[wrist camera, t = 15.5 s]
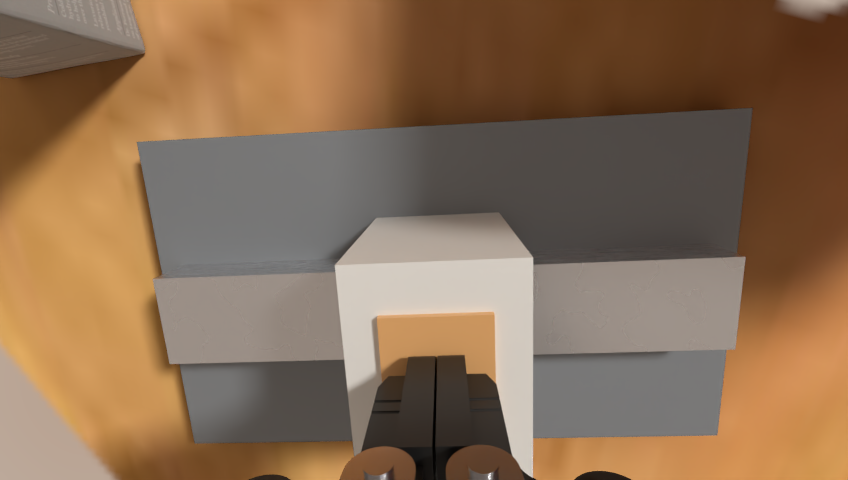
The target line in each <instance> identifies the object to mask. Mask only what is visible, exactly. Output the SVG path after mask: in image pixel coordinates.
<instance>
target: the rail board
mask: <svg viewBox="0 0 848 480" xmlns="http://www.w3.org/2000/svg"><path fill="white" fill-rule="evenodd" d="M752 110H753V108H741V109H723V110H705V111H687V112H669V113H651V114H633V115H615V116H597V117H579V118H561V119H543V120H525V121H507V122H489V123H471V124H453V125H435V126H417V127H399V128H381V129H363V130H345V131H327V132H309V133H291V134H273V135H255V136H237V137H219V138H201V139H183V140H165V141H147V142H137V145H138V150H139V156H140V161H141V166H142V171H143V176H144V182H145V187H146V192H147V197H148V202H149V208H150V213H151V218H152V223H153V229H154V234H155V239H156V244H157V249H158V255H159V260H160V265H161V270H162V274H164V273H166V272H169V271H171V270H173V269H175V268H177V267H179V266H181V265H186V264H211V263H237V262H262V261H288V260H313V259H339V258H342V256H343V255H344V254H345V253H346V252H347V251H348V250H349V248H350V247H351V246H352V245H353V244H354V243H355V242H356V240H357V239H358V238H359V237H360V236H361V235H362V234H363V232H364V231H365V230H366V229H367V228H368V227H369V226H370V224H371V223H372V222H373V221H374V220H375V219H376V218H384V217H407V216H429V215H451V214H473V213H495V212H499V213H500V214H501V216H502V217H503V218H504V220H505V221H506V222H507V224H508V225H509V226H510V228H511V229H512V230H513V232H514V233H515V234H516V235H517V237H518V238H519V239H520V241H521V242H522V243H523V245H524V246H525V247H526V249H527V250H528V251H543V250H569V249H594V248H620V247H646V246H671V245H697V244H714V245H716V246H719V247H722V248H724V249H727V250H729V251H732V252H735V253H737V249H738V239H739V230H740V221H741V212H742V203H743V193H744V184H745V175H746V166H747V156H748V147H749V138H750V129H751V120H752ZM725 359H726V350H693V351H655V352H616V353H578V354H540V355H533V438H576V437H640V436H704V435H717V433H718V424H719V414H720V405H721V396H722V387H723V378H724V368H725ZM180 369H181V374H182V380H183V385H184V390H185V395H186V400H187V406H188V411H189V416H190V421H191V426H192V432H193V437H194V442H195V443H256V442H320V441H353V440H352V430H351V420H350V410H349V400H348V391H347V381H346V371H345V361H344V360H310V361H271V362H233V363H195V364H180Z"/></svg>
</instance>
